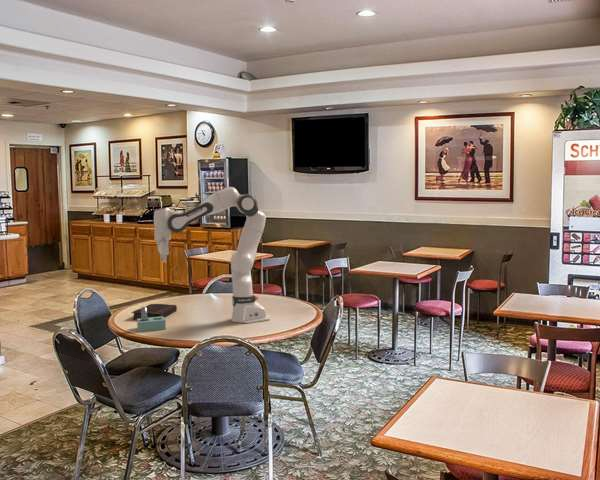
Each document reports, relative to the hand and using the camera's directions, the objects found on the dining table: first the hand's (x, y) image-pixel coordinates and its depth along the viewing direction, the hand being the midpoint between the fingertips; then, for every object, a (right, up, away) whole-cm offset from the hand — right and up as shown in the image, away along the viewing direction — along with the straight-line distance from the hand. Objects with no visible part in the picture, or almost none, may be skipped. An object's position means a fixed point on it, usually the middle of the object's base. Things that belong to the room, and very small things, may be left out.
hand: (163, 261), depth 319 cm
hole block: (-5, -36, -7) cm, 37 cm away
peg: (-8, -36, -8) cm, 38 cm away
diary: (-11, -34, +25) cm, 43 cm away
